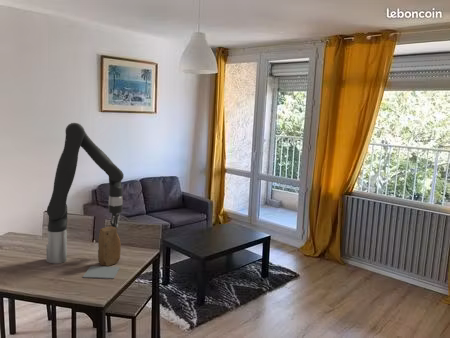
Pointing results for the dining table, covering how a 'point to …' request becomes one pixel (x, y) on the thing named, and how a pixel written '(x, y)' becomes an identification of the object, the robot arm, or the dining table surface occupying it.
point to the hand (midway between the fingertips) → (115, 233)
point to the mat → (101, 272)
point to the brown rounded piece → (109, 246)
